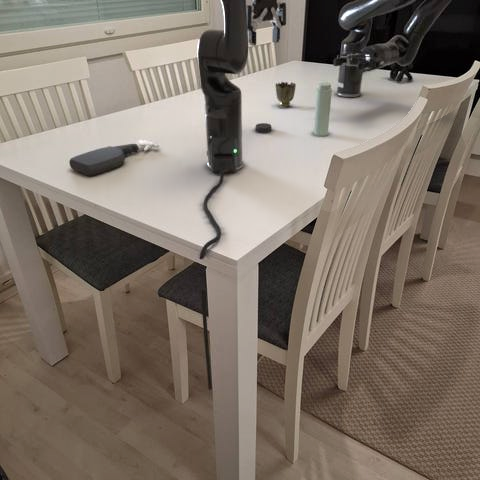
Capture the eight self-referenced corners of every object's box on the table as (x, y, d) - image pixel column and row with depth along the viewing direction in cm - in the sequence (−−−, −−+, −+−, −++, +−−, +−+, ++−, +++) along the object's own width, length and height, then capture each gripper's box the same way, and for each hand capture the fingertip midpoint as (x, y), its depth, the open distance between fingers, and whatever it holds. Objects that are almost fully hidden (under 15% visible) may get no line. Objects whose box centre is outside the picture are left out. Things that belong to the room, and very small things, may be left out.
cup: (271, 107, 166) (272, 85, 162) (279, 102, 172) (280, 80, 168) (290, 109, 163) (291, 87, 159) (297, 104, 169) (298, 82, 165)
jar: (328, 132, 142) (333, 82, 134) (327, 136, 138) (331, 86, 130) (314, 131, 143) (318, 82, 135) (312, 135, 139) (316, 85, 131)
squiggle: (400, 92, 202) (376, 71, 205) (417, 76, 202) (392, 56, 205) (405, 81, 191) (380, 59, 194) (423, 64, 191) (397, 42, 194)
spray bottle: (67, 168, 120) (139, 144, 136) (91, 178, 114) (163, 151, 130) (65, 157, 118) (137, 134, 134) (89, 167, 112) (162, 142, 128)
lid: (252, 131, 144) (252, 126, 143) (260, 127, 147) (260, 122, 147) (266, 134, 141) (266, 129, 140) (274, 129, 145) (274, 124, 144)
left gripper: (253, -19, 116) (253, 48, 124) (293, -21, 123) (291, 42, 132) (236, -20, 121) (237, 45, 130) (276, -22, 128) (274, 39, 137)
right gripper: (358, 42, 148) (328, 48, 139) (396, 47, 139) (368, 54, 130) (355, 66, 152) (326, 73, 143) (392, 72, 143) (364, 80, 134)
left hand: (264, 43), depth 131 cm, fingers open, 8 cm apart
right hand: (346, 64), depth 136 cm, fingers open, 8 cm apart
